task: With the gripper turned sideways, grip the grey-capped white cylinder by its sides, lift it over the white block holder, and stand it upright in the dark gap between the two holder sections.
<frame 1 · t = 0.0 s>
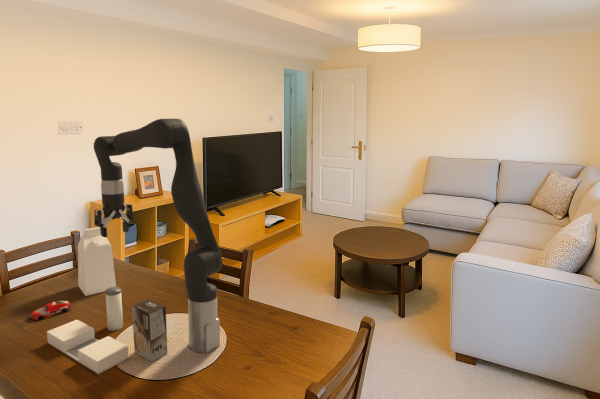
hand: (115, 234, 158), 29 cm above the table, tool pointing down, fingers open, 8 cm apart
white block holder: (87, 350, 136), on the table
grey-capped white cylinder: (115, 326, 150), on the table
coffee box: (151, 353, 136), on the table
race car: (51, 314, 158), on the table
milk: (97, 287, 181), on the table
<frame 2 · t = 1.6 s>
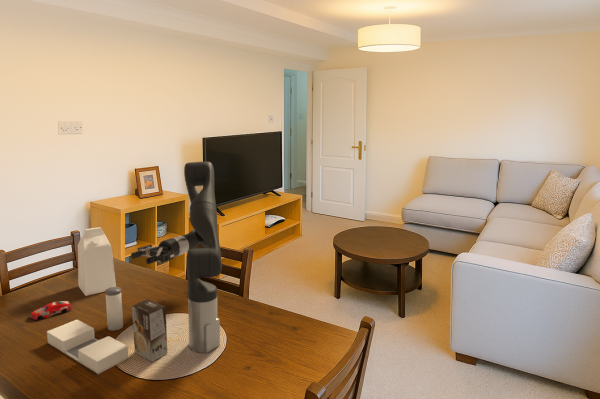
hand: (139, 258, 154), 22 cm above the table, tool horizontal, fingers open, 8 cm apart
nothing on the table moved.
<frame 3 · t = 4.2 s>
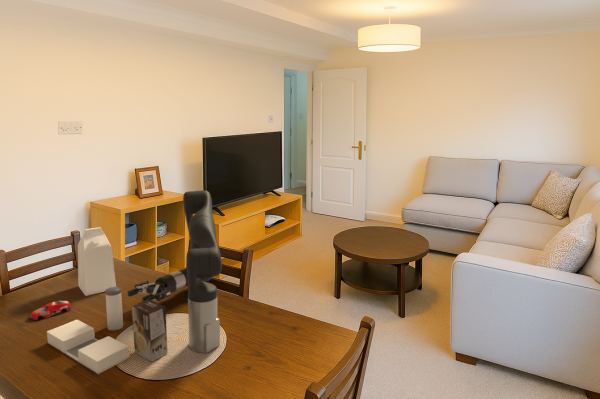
hand: (135, 297, 156), 8 cm above the table, tool horizontal, fingers open, 8 cm apart
nothing on the table moved.
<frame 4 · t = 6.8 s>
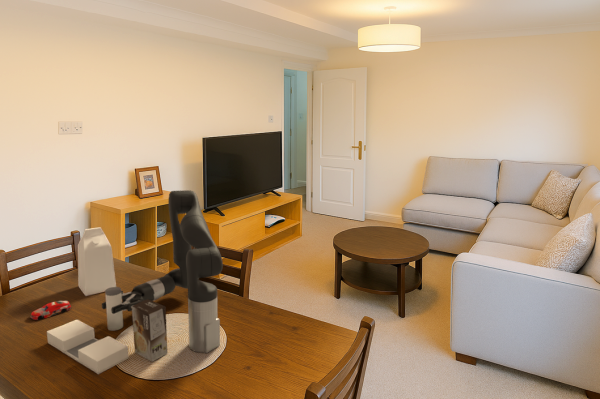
hand: (107, 308, 146), 8 cm above the table, tool horizontal, fingers closed on grey-capped white cylinder, 5 cm apart
grey-capped white cylinder: (115, 326, 150), on the table, touching gripper
everything else where it was.
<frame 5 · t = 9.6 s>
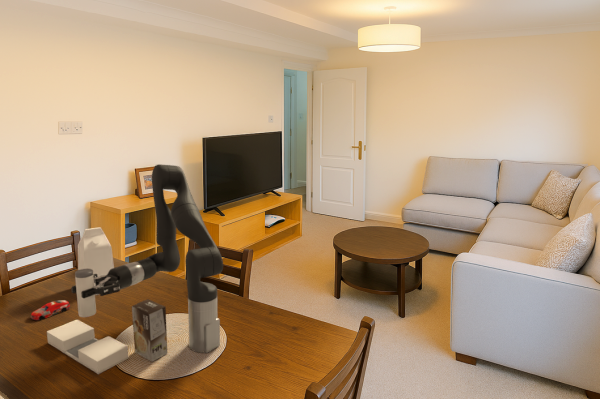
hand: (77, 292, 131), 20 cm above the table, tool horizontal, fingers closed on grey-capped white cylinder, 5 cm apart
grey-capped white cylinder: (87, 313, 135), point 12 cm above the table, touching gripper
when the fingers open (10 cm above the table, at t = 12.5 s): grey-capped white cylinder drops 1 cm, resting on white block holder.
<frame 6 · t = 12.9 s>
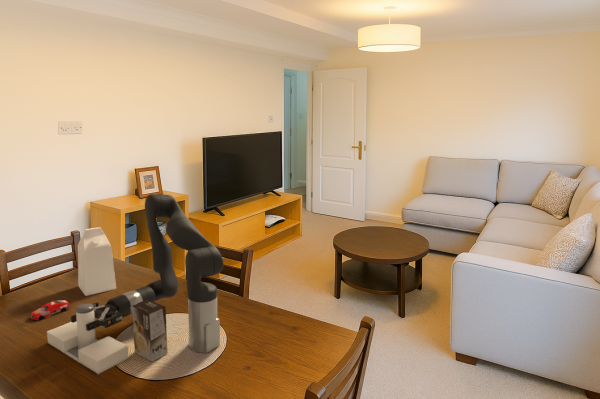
hand: (78, 323, 132), 10 cm above the table, tool horizontal, fingers open, 8 cm apart
grey-capped white cylinder: (87, 348, 135), point 1 cm above the table, touching white block holder
everything else where it was.
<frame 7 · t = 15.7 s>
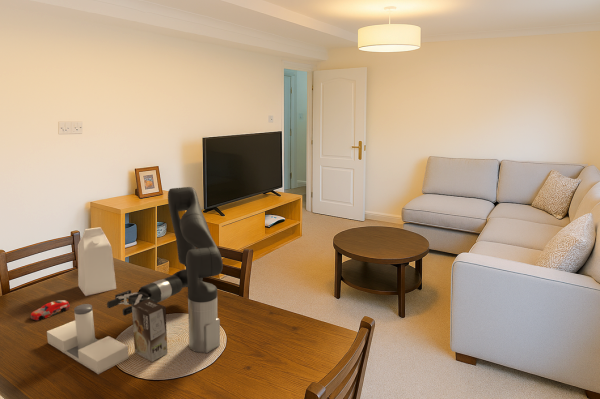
hand: (115, 308, 142), 10 cm above the table, tool horizontal, fingers open, 8 cm apart
nothing on the table moved.
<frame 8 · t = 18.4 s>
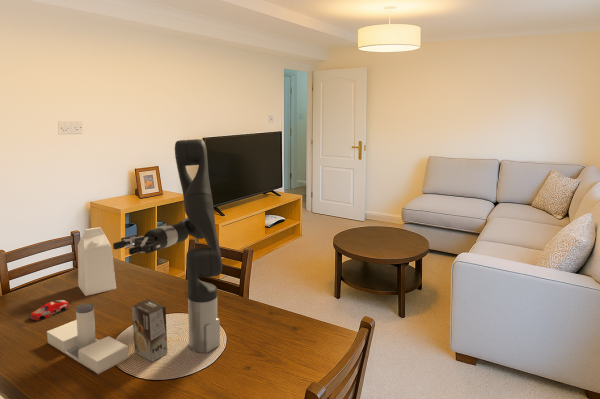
hand: (121, 249, 141), 30 cm above the table, tool horizontal, fingers open, 8 cm apart
nothing on the table moved.
at the end: grey-capped white cylinder 0.1 cm off-centre on the white block holder, point 0.8 cm above the white block holder's base; grey-capped white cylinder tilted 2°; the gripper is holding nothing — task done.
